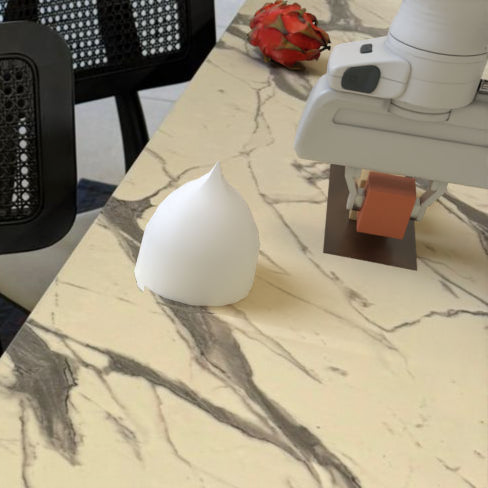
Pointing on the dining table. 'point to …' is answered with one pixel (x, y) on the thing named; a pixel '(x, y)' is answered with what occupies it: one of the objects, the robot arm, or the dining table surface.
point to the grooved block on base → (357, 243)
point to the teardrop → (200, 245)
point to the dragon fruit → (287, 34)
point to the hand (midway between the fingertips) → (382, 213)
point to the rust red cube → (387, 205)
